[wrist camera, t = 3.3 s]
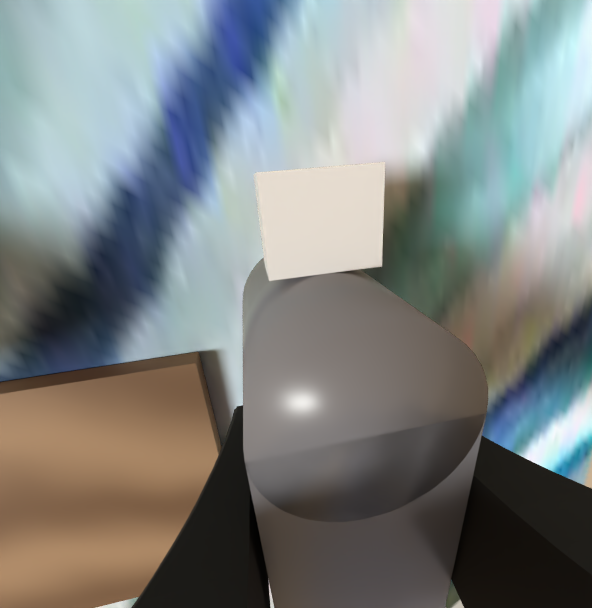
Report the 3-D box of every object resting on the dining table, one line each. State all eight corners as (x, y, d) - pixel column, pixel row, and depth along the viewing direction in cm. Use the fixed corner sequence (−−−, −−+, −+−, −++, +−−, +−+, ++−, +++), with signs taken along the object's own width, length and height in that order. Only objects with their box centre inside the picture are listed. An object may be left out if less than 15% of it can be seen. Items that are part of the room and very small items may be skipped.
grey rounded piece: (357, 472, 14) (433, 661, 8) (272, 491, 13) (294, 704, 8) (357, 168, 9) (544, 140, 3) (222, 180, 8) (184, 169, 3)
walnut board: (246, 552, 16) (247, 569, 16) (8, 610, 15) (-4, 632, 14) (198, 351, 11) (195, 363, 11) (-168, 408, 10) (-200, 425, 9)
